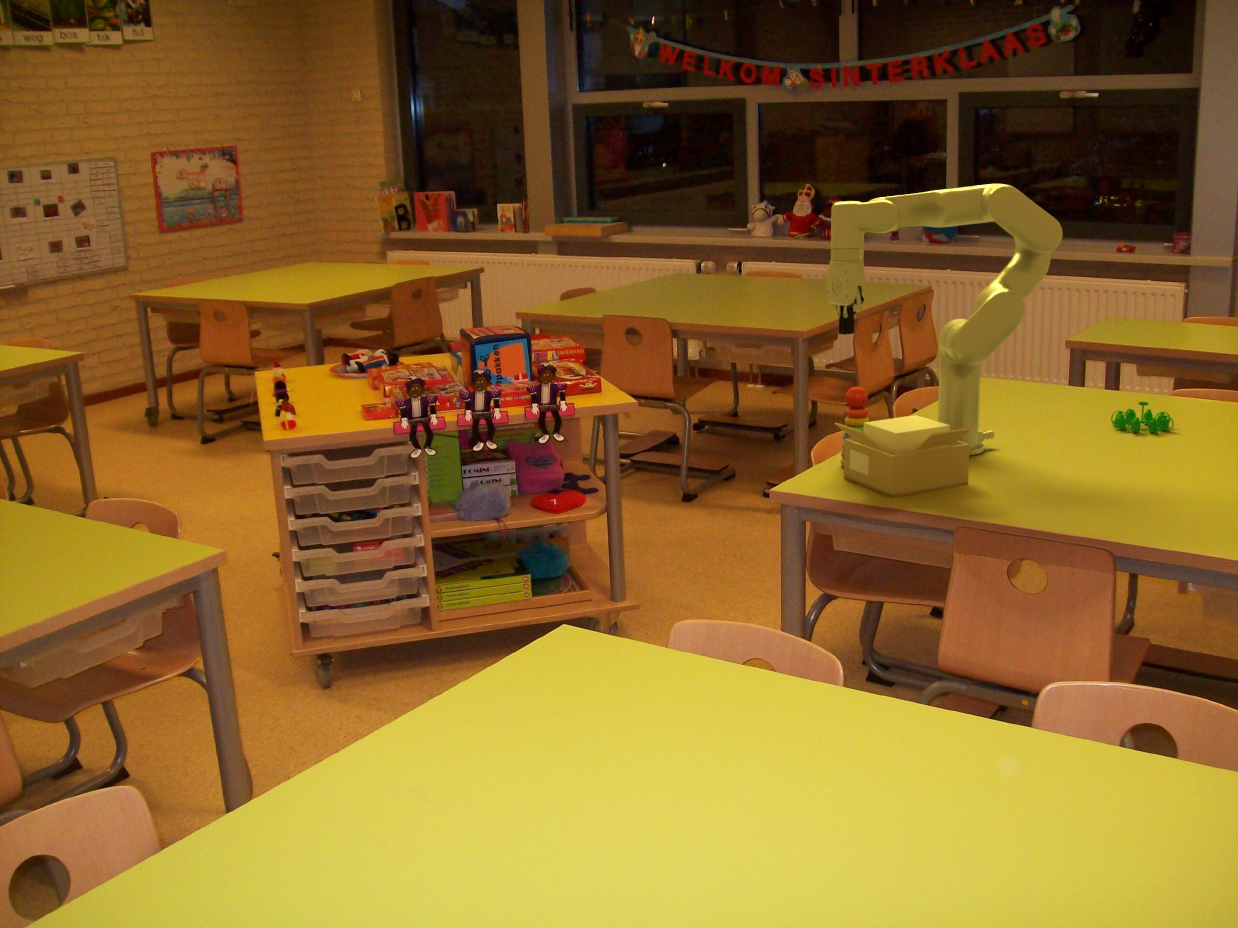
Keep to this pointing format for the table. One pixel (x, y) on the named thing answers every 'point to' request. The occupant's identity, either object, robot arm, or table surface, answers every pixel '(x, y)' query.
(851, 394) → the stacking toy
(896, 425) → the carton
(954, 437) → the flap left
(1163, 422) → the chandelier
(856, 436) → the flap far
